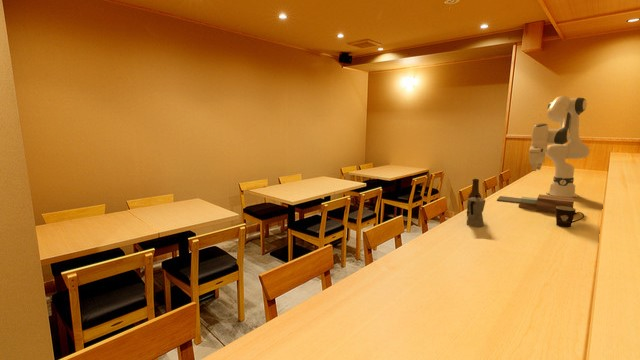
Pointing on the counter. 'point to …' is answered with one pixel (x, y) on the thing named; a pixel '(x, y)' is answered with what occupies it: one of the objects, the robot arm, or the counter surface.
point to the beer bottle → (474, 191)
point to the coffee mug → (565, 216)
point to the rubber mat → (509, 199)
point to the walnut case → (548, 203)
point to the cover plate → (529, 200)
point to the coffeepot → (475, 211)
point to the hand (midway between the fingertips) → (536, 170)
